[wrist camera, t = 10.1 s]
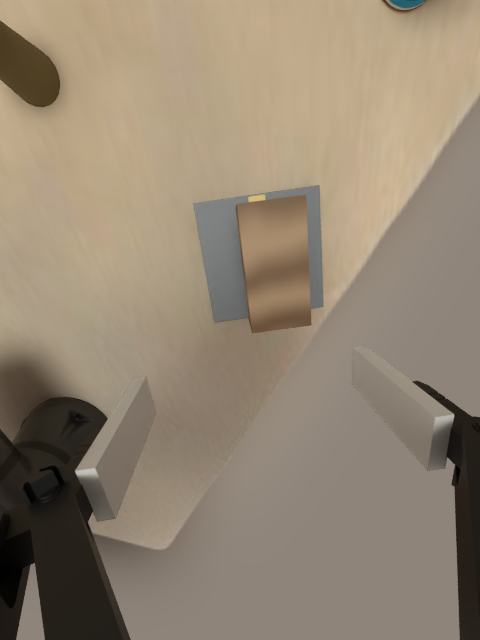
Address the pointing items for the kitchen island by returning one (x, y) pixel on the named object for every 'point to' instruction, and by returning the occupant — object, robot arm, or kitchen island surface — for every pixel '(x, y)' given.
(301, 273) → the wooden block on stand
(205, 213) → the lock plate
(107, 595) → the robot arm
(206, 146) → the kitchen island surface
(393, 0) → the beverage bottle
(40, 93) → the cork
